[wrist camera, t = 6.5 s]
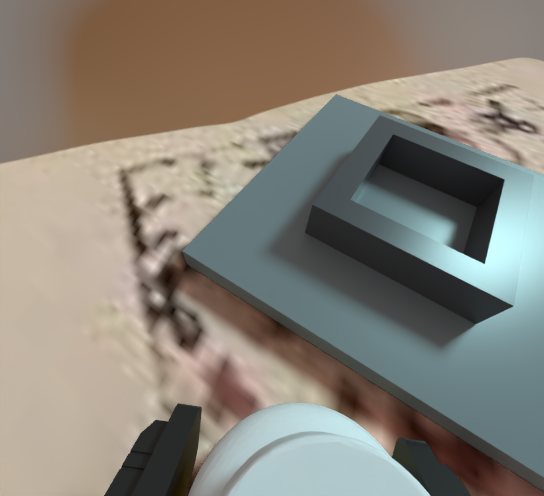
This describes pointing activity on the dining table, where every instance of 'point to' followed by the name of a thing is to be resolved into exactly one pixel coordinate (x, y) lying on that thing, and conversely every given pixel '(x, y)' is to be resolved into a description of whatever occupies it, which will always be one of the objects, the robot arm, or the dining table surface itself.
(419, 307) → the socket board
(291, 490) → the supplement bottle
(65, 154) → the dining table surface
